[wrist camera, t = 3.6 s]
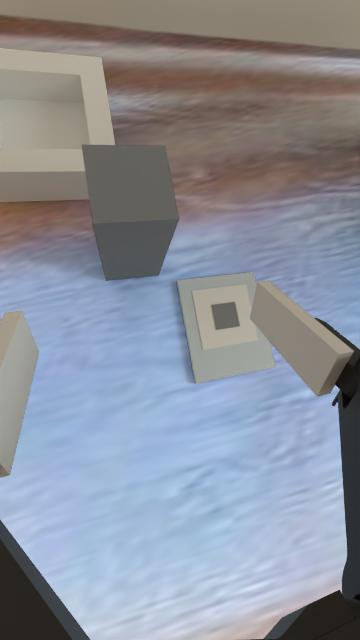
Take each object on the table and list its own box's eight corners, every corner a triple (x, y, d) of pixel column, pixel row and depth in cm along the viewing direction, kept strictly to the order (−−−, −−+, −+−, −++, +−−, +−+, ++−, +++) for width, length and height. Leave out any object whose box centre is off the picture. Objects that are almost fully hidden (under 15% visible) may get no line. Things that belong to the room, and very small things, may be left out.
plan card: (252, 273, 33) (254, 271, 32) (273, 367, 31) (276, 367, 30) (176, 281, 30) (177, 279, 30) (195, 383, 29) (196, 383, 28)
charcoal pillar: (150, 228, 31) (165, 145, 19) (158, 275, 30) (178, 219, 18) (98, 231, 29) (81, 144, 18) (106, 280, 29) (92, 223, 17)
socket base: (104, 98, 32) (101, 57, 28) (120, 198, 31) (119, 171, 26) (-22, 91, 29) (-47, 43, 25) (-13, 202, 27) (-39, 172, 23)
